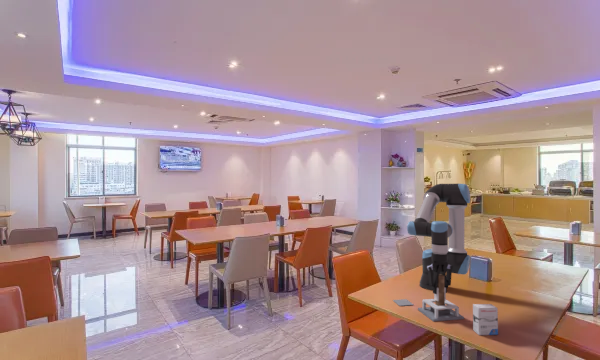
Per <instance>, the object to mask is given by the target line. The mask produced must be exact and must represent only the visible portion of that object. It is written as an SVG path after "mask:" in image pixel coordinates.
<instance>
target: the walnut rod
mask: <svg viewBox="0 0 600 360" xmlns="http://www.w3.org/2000/svg"><path fill="white" fill-rule="evenodd" d="M437 287H438V288H439V301H436V300H435V302H434V304H436V305H437V306H443V305H446V304H445V290H444V275H442V274H439V276H438V285H437Z"/></svg>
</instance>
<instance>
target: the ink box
mask: <svg viewBox="0 0 600 360" xmlns="http://www.w3.org/2000/svg"><path fill="white" fill-rule="evenodd" d="M498 313H499V311H498V307H496V306H495V305H494V304H492V303H476V304H475V303H472V329H473V330H472V331H473V332H475V333H476V334H477V335H478V336H495V335H499V317H498V315H499V314H498Z"/></svg>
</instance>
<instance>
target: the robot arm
mask: <svg viewBox="0 0 600 360" xmlns="http://www.w3.org/2000/svg"><path fill="white" fill-rule="evenodd" d="M422 198H423V201H422V203H421V205H420V208H419V210H418V212H417V215H416V217H415V218H414V220H413V221H412V220H411V221H408V223H407V226H406V227H407V228H406V229H407V233H408V235H411V236H416V237H417V236H418V237H428V238H431V248H428V249H425V250H423V251H422V255H421V256H422V257H421V259H422V260H421V262H422V265H421V266H422V274H421V276H420V280H419V287H420V288H422V289H426V290H429V291H432V294H433V297H434V298H433V299H435V300H436V301H439V288H438V287H437V285H438V276H439V274H442V275H444V290H445V301H446V300H447V297H446V296H447V294H448V290H447V289H448V288H449V286H451V284H452V276H453V275H452V274H457V275H467V273H468V272H469V269H470V265H471V264H470V263H471V256H470V255H469V254H468V251H467V250H466V249H465V209H466V208H467V207H468V204H470V203H471V192H470V188H469V186H468V185H467V184H466V183H438V184H437V183H436V184H434V185H433V186H431V187H430V188H428V190H426V191H425V192H424V194H423V197H422ZM439 203H445V205H446V207H447V208H448V222H446V221H444V220H443V221H442V220H434V221H432V222H431V219H432V216H433V214H434V212H435V209H436V208H437V207H436V206H437V205H438V204H439Z"/></svg>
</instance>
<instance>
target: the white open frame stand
mask: <svg viewBox="0 0 600 360" xmlns="http://www.w3.org/2000/svg"><path fill="white" fill-rule="evenodd" d="M421 302H422V307H417V311H419V312H420V313H421V314H423V315H424V316H425V317H427V318H428V319H429V320H431V321H432V322H442V321H443V322H444V321H455V320H456V321H458V320H464V319H465V316H464V315H461V314H460V308H459V306H458V305H456V304H455V303H453V302H451V301H450V300H447V299H446V301H445V305H443V306H437V305H436V304H435V299H434V298H428V299H427V298H424V299H422V301H421ZM427 305H428V307H427ZM442 309H444V310H442Z"/></svg>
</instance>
